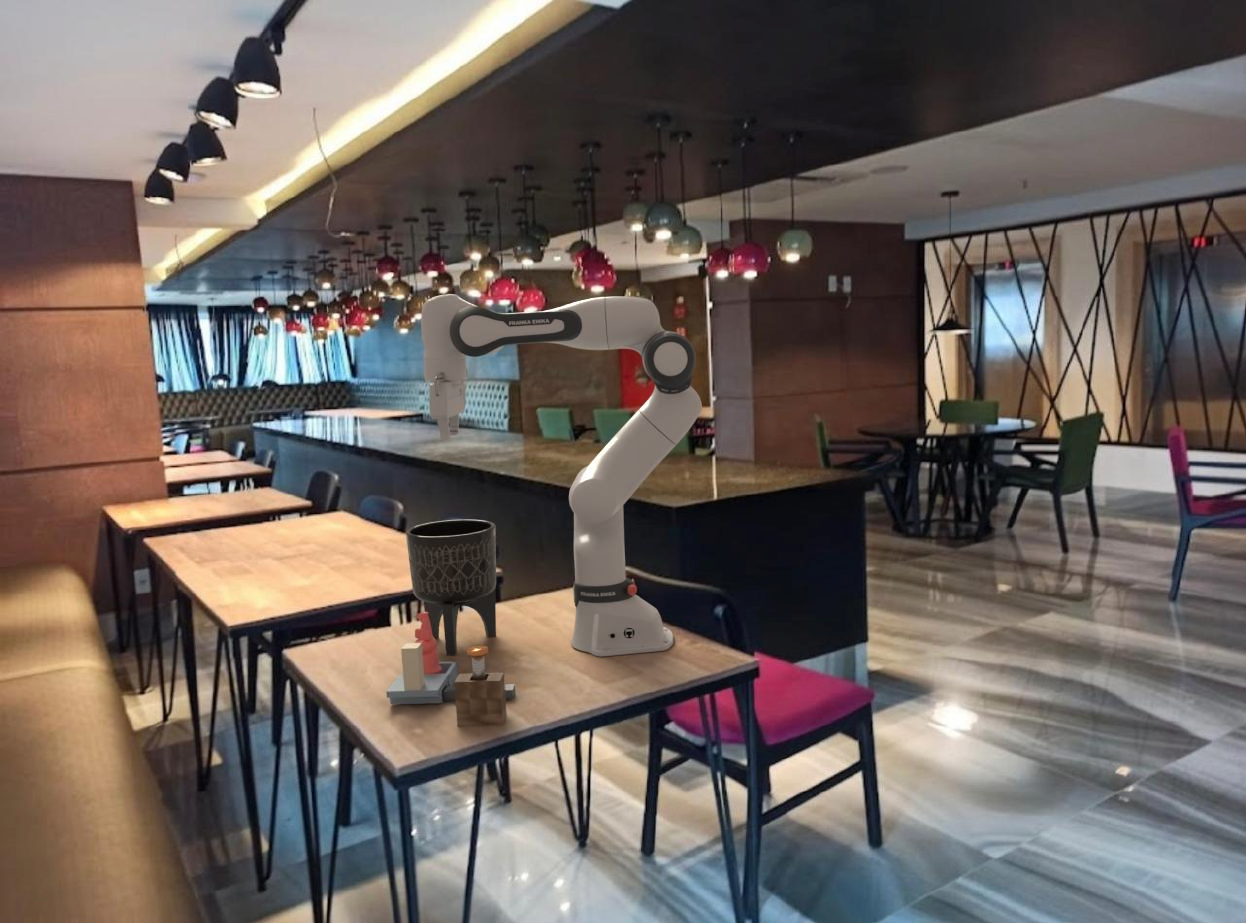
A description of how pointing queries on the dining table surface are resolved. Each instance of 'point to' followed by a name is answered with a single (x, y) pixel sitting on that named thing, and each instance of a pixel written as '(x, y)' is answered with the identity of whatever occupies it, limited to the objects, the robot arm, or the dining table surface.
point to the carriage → (420, 679)
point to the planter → (454, 572)
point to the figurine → (427, 645)
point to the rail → (449, 693)
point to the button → (478, 661)
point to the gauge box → (480, 700)
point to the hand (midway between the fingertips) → (450, 437)
